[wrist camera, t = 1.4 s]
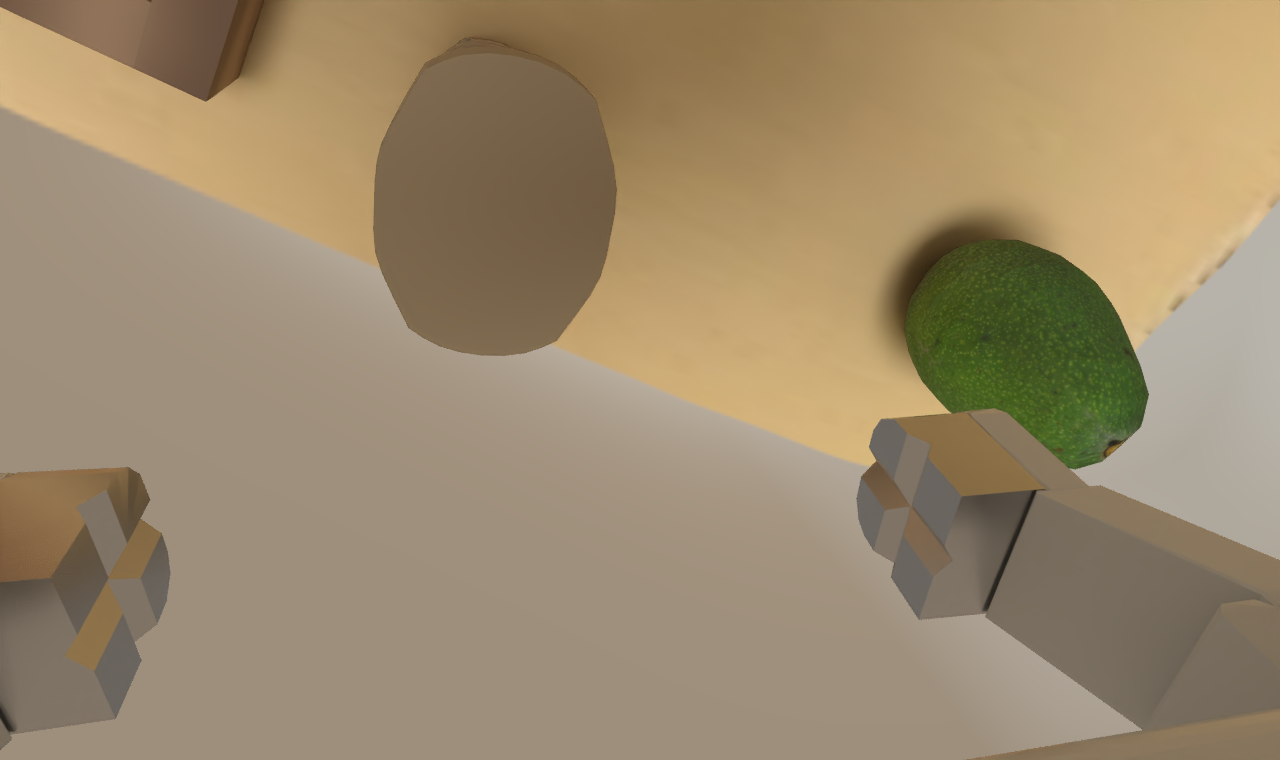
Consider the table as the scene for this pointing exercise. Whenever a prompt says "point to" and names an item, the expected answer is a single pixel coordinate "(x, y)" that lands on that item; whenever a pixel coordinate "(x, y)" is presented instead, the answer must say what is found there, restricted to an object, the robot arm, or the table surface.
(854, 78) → the table surface
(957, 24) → the table surface
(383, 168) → the handle
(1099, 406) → the fruit
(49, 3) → the socket board
